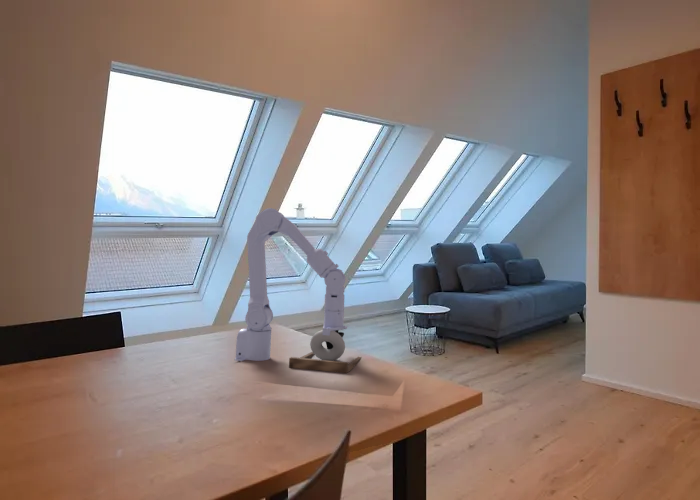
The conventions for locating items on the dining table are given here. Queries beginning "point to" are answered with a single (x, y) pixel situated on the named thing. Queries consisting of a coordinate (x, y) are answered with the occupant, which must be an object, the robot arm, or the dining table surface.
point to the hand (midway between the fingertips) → (332, 357)
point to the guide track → (321, 364)
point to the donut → (323, 352)
